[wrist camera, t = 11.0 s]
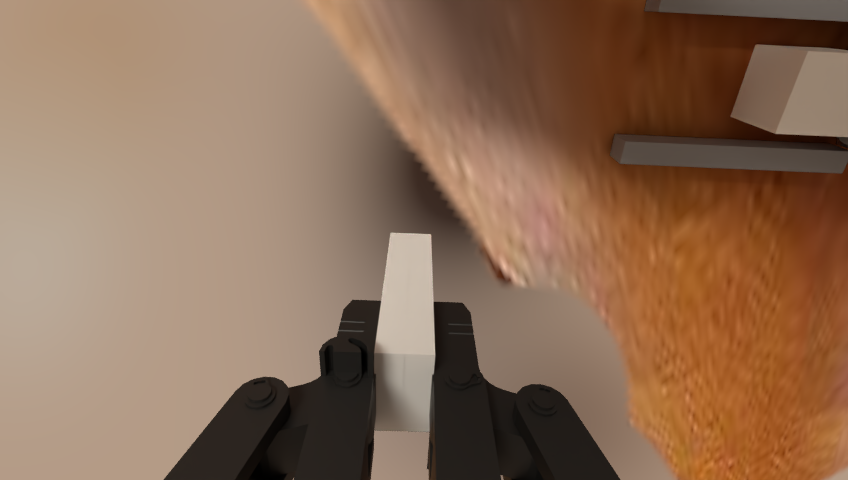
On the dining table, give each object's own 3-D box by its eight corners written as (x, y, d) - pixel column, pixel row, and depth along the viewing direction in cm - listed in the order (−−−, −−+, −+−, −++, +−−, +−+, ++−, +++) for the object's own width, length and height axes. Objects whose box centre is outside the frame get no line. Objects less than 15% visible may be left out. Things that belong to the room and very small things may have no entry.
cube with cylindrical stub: (754, 44, 39) (808, 51, 33) (842, 48, 39) (909, 56, 33) (729, 116, 41) (775, 133, 36) (812, 120, 41) (869, 138, 36)
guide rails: (650, -18, 36) (665, -19, 34) (898, -4, 37) (928, -5, 35) (609, 155, 43) (619, 163, 41) (820, 164, 43) (842, 173, 41)
